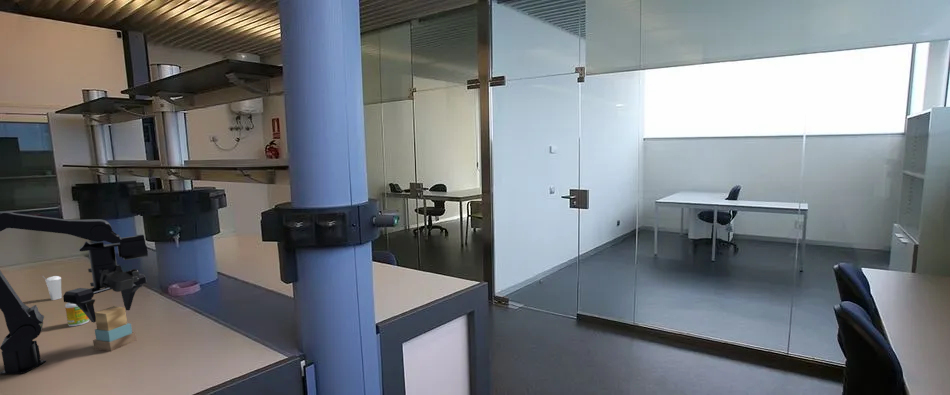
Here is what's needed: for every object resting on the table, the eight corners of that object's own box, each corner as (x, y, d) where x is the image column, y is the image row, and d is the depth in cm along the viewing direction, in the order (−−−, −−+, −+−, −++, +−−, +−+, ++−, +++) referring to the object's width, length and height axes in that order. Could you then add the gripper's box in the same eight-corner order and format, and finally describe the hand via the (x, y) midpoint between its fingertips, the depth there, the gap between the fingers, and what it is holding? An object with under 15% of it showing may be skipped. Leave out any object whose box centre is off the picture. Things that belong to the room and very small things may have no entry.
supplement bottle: (76, 327, 146) (72, 298, 145) (63, 326, 147) (59, 298, 146) (93, 320, 151) (89, 292, 150) (81, 320, 153) (76, 292, 151)
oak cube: (108, 330, 127) (106, 314, 126) (97, 329, 128) (94, 312, 128) (127, 323, 131) (124, 307, 131) (115, 322, 133) (113, 306, 132)
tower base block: (111, 352, 126) (110, 342, 126) (94, 350, 128) (92, 340, 128) (136, 342, 133) (135, 332, 133) (120, 339, 135) (118, 330, 135)
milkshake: (48, 298, 179) (45, 274, 178) (66, 296, 181) (62, 272, 180) (43, 301, 175) (39, 277, 174) (61, 299, 177) (57, 274, 176)
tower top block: (110, 341, 126) (108, 331, 126) (96, 339, 128) (94, 329, 128) (132, 333, 132) (130, 323, 132) (118, 331, 134) (117, 321, 134)
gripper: (86, 274, 116) (94, 331, 118) (156, 256, 134) (163, 306, 136) (57, 272, 120) (66, 328, 121) (130, 255, 137) (136, 304, 139)
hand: (111, 316), depth 129 cm, fingers open, 9 cm apart
